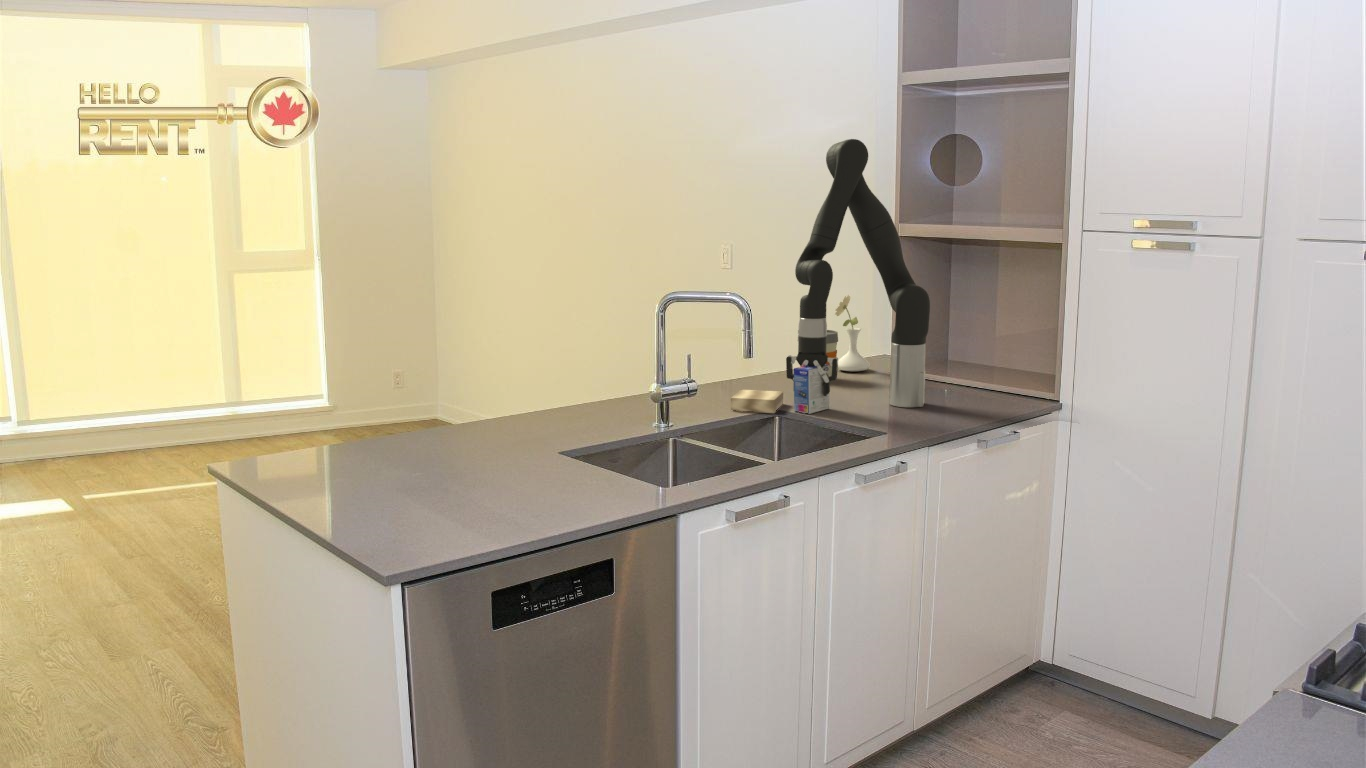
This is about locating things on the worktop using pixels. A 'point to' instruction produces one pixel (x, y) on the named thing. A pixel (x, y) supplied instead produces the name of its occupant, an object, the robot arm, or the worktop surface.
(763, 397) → the birch block
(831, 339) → the reusable coffee cup
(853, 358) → the flower in vase
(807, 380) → the ink cartridge box
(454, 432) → the worktop surface
